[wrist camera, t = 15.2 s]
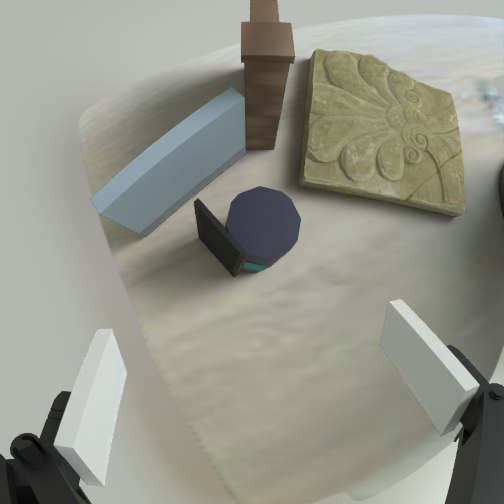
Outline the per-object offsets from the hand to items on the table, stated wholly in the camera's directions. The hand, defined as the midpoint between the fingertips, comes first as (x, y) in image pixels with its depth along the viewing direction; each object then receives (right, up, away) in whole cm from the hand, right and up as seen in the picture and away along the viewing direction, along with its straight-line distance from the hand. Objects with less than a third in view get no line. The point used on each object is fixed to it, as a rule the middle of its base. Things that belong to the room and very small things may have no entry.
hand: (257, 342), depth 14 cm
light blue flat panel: (-6, +10, +18) cm, 22 cm away
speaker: (-1, +5, +18) cm, 19 cm away
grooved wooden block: (+1, +21, +19) cm, 28 cm away
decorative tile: (+16, +19, +20) cm, 32 cm away
